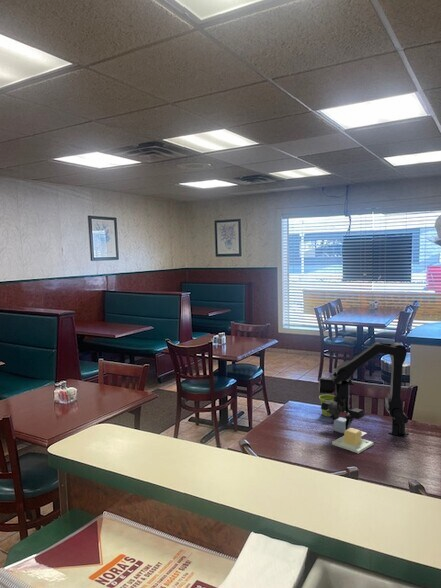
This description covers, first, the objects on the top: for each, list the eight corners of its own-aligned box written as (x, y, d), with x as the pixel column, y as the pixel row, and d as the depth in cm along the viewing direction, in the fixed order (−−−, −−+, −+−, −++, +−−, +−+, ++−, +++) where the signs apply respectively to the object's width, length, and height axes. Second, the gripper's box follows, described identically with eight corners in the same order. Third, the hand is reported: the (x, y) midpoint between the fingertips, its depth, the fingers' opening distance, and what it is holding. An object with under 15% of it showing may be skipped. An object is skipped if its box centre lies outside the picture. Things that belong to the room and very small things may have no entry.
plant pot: (340, 413, 216) (341, 396, 215) (334, 419, 208) (335, 401, 207) (322, 410, 221) (322, 393, 220) (316, 415, 213) (316, 398, 212)
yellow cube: (361, 442, 180) (361, 430, 179) (355, 445, 176) (355, 433, 176) (350, 438, 183) (350, 427, 183) (344, 441, 180) (344, 430, 180)
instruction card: (356, 430, 195) (356, 429, 195) (367, 433, 191) (367, 432, 191) (349, 433, 191) (349, 433, 191) (360, 437, 187) (360, 436, 187)
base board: (347, 436, 188) (347, 433, 188) (373, 444, 180) (373, 441, 180) (331, 444, 180) (331, 441, 180) (358, 453, 171) (358, 450, 171)
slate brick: (339, 427, 198) (339, 416, 198) (349, 430, 195) (349, 419, 194) (333, 430, 195) (333, 419, 194) (343, 433, 191) (343, 422, 191)
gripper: (314, 393, 195) (313, 427, 196) (352, 403, 181) (351, 439, 182) (328, 388, 202) (327, 420, 203) (365, 397, 189) (364, 432, 190)
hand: (341, 428), depth 195 cm, fingers closed on slate brick, 5 cm apart
